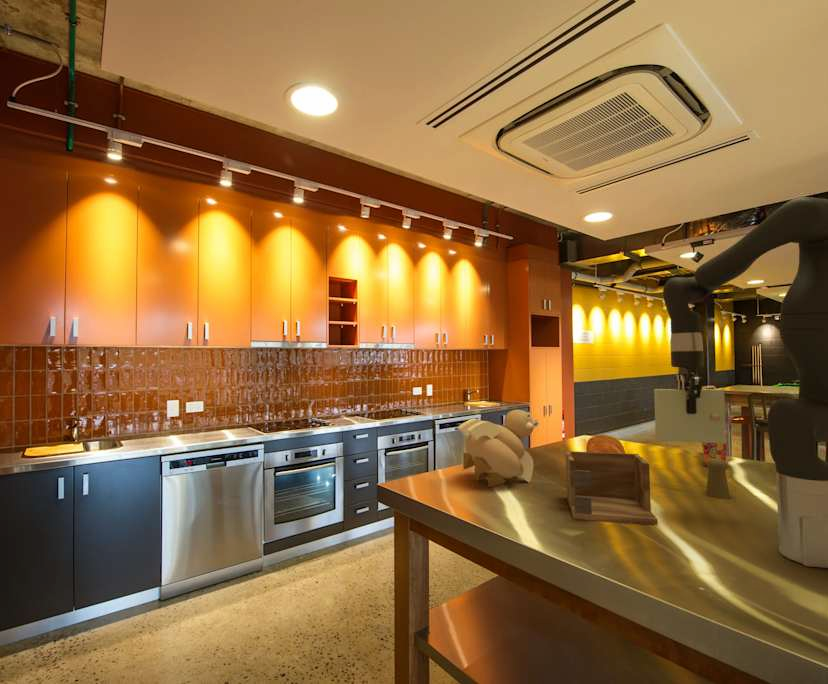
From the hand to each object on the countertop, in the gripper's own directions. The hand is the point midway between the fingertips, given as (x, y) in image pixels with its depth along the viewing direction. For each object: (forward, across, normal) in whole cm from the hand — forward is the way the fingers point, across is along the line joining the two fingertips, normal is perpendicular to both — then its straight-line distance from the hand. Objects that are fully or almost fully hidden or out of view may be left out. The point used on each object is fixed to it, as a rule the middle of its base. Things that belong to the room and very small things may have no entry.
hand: (688, 412), depth 116 cm
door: (+8, 0, 0) cm, 8 cm away
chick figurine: (+27, +18, +54) cm, 63 cm away
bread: (+27, +26, +17) cm, 41 cm away
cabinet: (+27, -2, +22) cm, 35 cm away
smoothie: (+27, +57, -27) cm, 68 cm away
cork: (+27, +19, -13) cm, 36 cm away
